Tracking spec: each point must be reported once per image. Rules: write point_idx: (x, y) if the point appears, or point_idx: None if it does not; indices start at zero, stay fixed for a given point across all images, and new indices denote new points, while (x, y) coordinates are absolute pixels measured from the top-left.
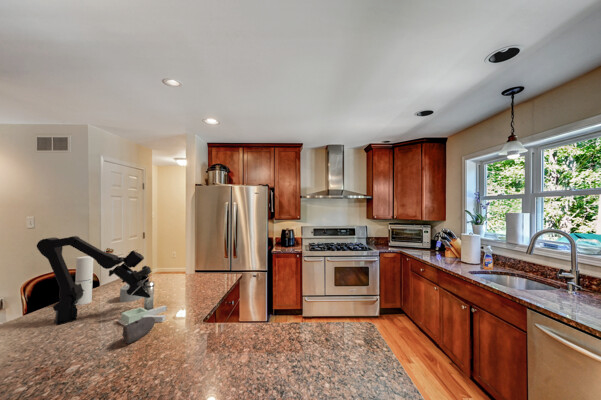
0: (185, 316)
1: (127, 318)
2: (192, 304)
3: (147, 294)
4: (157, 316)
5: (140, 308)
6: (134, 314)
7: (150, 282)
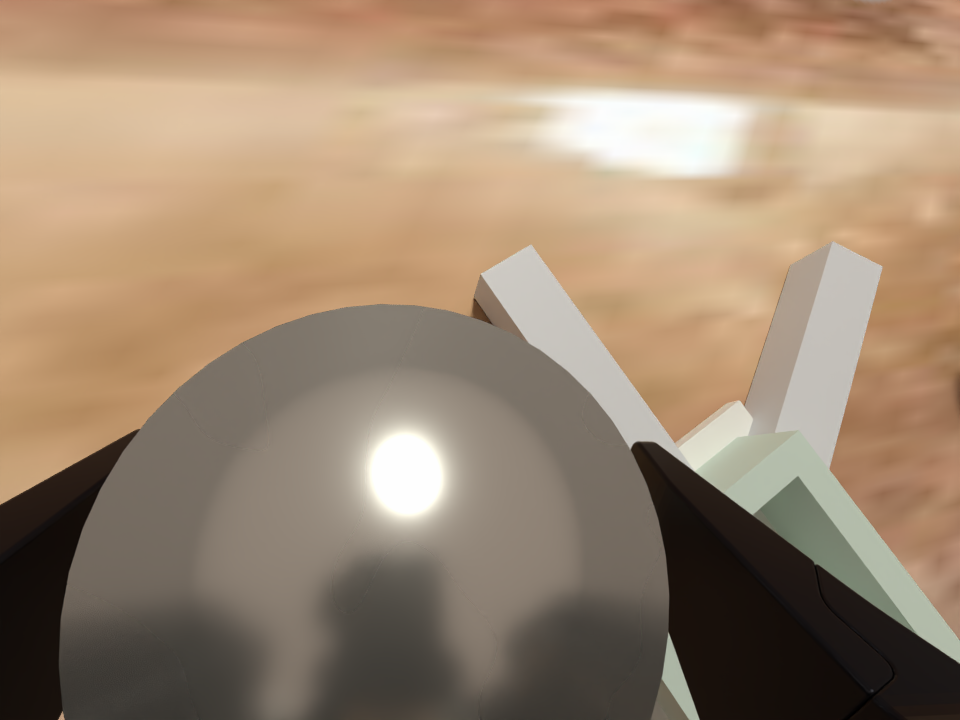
0: (746, 101)
1: None
2: (422, 23)
3: (721, 504)
4: (852, 320)
5: None
6: None
7: (417, 513)
